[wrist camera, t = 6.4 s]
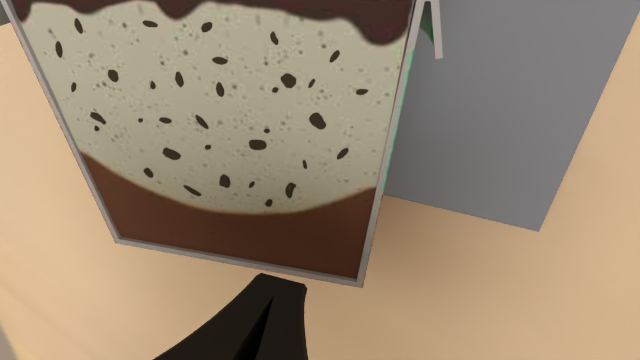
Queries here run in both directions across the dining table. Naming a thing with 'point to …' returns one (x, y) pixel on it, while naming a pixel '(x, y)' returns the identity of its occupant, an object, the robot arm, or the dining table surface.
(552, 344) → the dining table surface
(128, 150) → the food container
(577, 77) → the plain gray flat panel
